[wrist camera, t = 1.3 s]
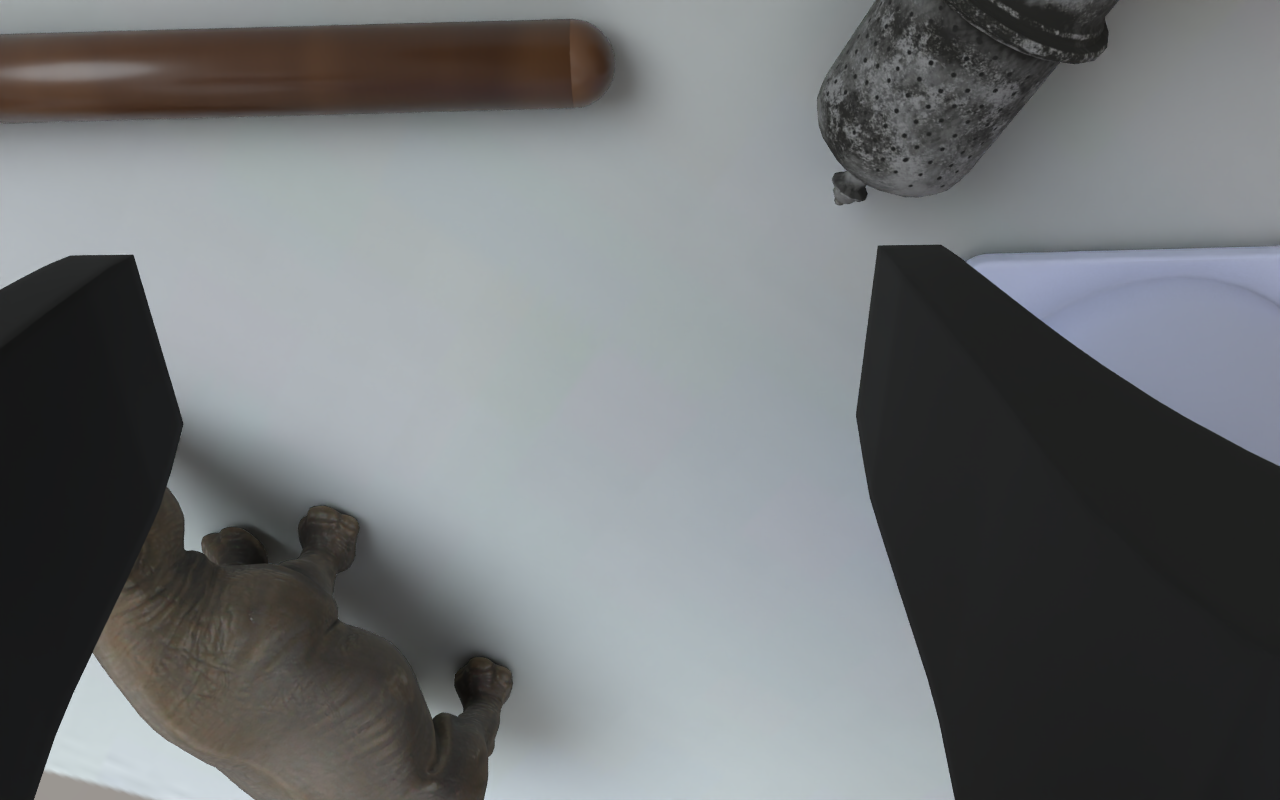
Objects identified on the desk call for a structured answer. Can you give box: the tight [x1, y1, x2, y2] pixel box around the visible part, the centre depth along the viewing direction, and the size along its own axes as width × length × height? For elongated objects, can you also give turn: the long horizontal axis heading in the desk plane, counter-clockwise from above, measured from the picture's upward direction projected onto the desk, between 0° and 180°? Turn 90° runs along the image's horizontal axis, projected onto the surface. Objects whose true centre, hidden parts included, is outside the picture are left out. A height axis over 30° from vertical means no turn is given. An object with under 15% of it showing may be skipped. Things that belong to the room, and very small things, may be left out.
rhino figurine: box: [93, 486, 513, 800], centre depth 24 cm, size 4×14×6 cm, turn 34°
